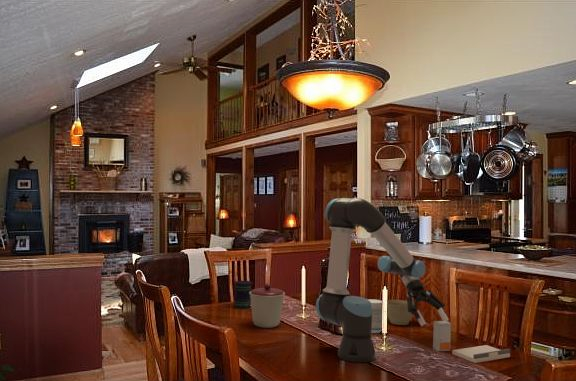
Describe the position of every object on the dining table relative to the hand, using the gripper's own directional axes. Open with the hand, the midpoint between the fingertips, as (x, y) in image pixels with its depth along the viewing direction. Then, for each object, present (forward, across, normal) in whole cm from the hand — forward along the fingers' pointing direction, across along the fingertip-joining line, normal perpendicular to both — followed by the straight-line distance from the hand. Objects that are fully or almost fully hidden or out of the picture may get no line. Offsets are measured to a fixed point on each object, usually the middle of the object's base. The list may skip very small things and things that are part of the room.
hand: (435, 323), depth 208 cm
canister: (-34, +56, -49) cm, 82 cm away
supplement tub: (-14, +11, -29) cm, 34 cm away
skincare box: (+11, +2, -3) cm, 12 cm away
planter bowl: (-19, -12, -34) cm, 41 cm away
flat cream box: (+20, -8, +6) cm, 22 cm away
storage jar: (-64, +52, -80) cm, 115 cm away
